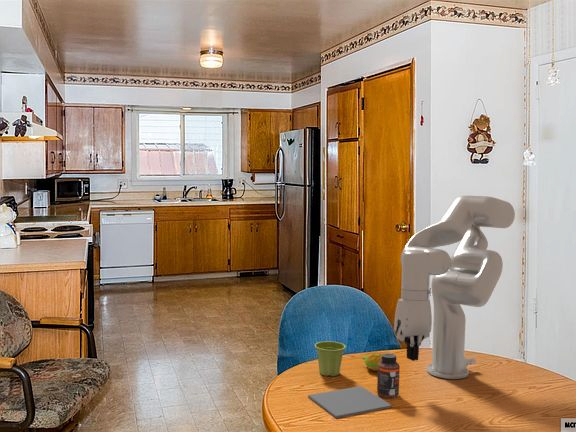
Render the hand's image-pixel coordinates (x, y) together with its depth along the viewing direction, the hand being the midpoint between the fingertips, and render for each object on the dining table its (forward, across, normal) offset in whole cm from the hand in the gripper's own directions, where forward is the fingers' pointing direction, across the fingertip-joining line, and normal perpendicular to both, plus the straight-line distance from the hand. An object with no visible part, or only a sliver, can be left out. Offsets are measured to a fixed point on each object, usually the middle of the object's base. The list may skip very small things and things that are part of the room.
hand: (412, 359), depth 164 cm
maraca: (+9, -1, -20) cm, 22 cm away
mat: (+9, +20, 0) cm, 22 cm away
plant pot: (+10, +14, -22) cm, 28 cm away
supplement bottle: (+10, +8, 0) cm, 12 cm away
